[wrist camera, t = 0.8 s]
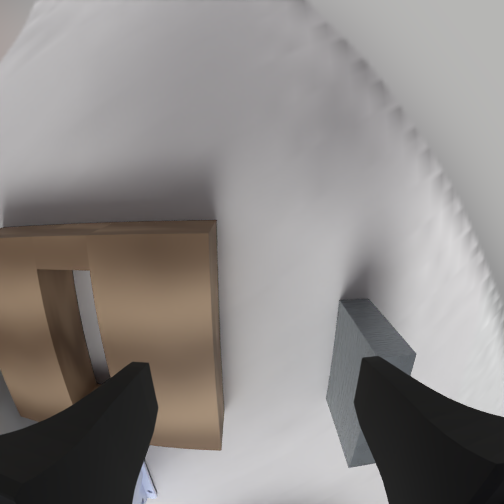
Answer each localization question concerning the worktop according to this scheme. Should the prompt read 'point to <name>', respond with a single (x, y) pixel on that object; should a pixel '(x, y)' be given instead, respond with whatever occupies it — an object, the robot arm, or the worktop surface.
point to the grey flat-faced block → (348, 367)
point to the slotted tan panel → (116, 319)
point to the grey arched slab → (10, 411)
